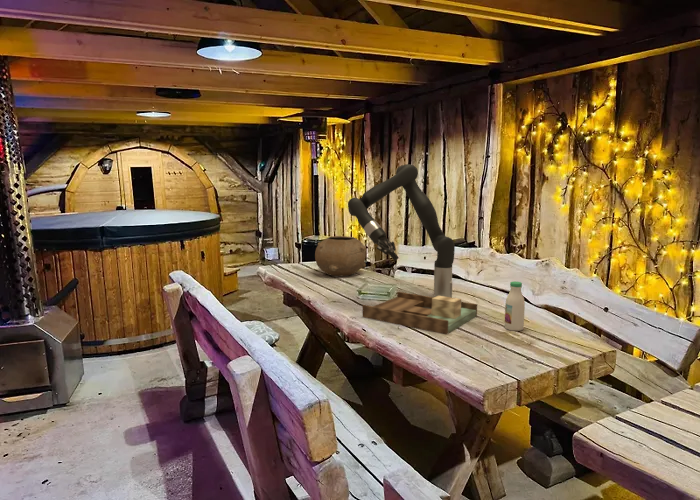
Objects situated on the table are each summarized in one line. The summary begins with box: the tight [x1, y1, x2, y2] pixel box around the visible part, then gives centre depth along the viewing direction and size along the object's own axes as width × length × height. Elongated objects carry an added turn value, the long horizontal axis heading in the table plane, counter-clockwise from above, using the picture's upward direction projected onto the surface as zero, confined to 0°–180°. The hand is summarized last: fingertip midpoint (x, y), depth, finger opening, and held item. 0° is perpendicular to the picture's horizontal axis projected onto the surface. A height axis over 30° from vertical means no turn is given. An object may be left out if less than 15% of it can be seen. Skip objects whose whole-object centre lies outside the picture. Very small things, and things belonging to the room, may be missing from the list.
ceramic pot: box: [314, 235, 367, 277], centre depth 313 cm, size 33×34×25 cm
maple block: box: [432, 296, 462, 319], centre depth 209 cm, size 11×6×8 cm, turn 53°
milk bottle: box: [504, 280, 526, 332], centre depth 199 cm, size 8×8×20 cm
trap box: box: [362, 291, 478, 335], centre depth 218 cm, size 42×32×6 cm
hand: (396, 259), depth 222 cm, fingers closed
